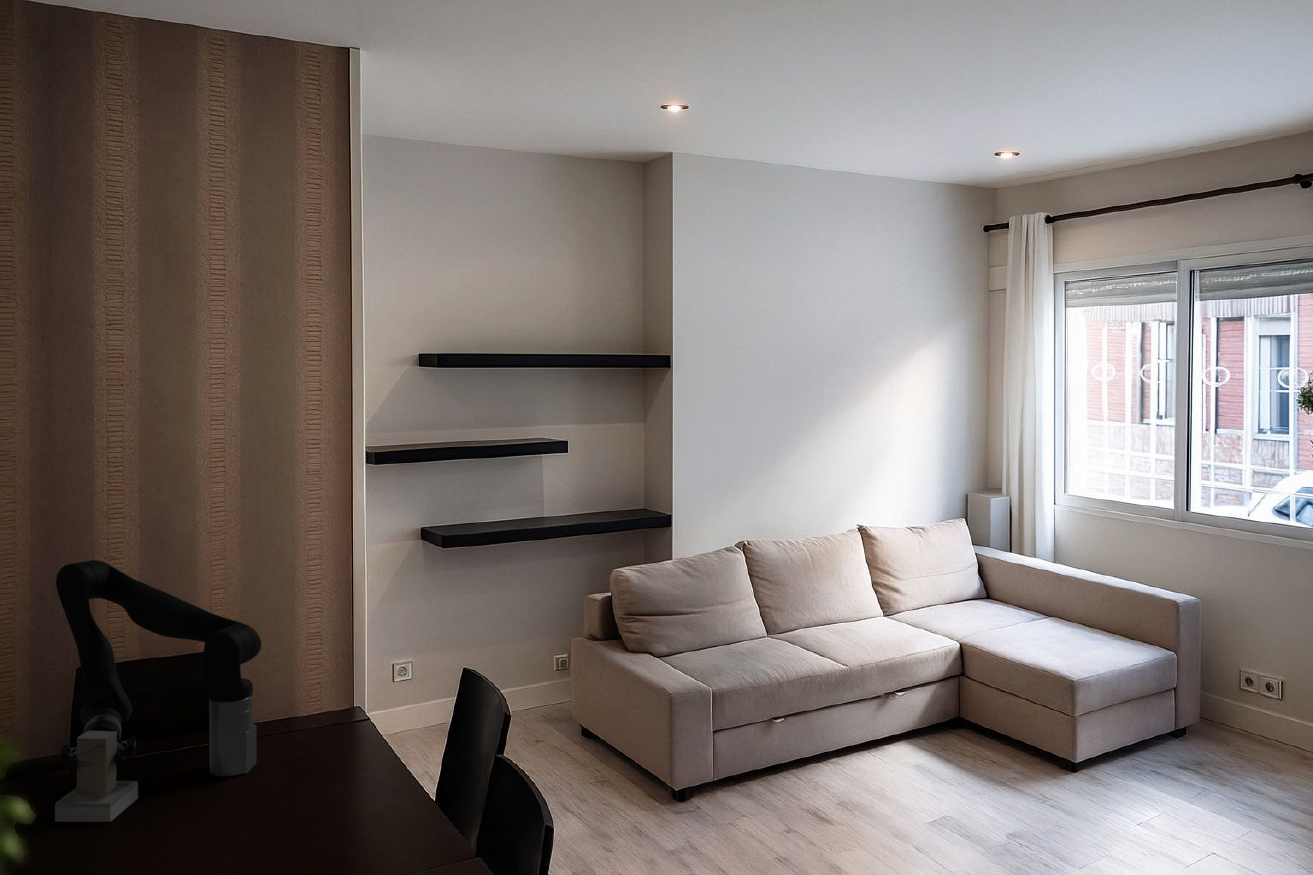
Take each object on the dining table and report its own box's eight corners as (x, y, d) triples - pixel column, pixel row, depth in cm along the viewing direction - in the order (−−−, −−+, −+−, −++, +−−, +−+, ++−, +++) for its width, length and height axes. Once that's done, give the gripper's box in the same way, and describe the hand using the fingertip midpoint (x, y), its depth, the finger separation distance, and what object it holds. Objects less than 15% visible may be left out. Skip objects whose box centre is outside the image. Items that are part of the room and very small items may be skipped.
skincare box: (75, 795, 195) (74, 738, 194) (88, 785, 199) (87, 729, 199) (106, 795, 195) (105, 738, 194) (118, 786, 200) (117, 730, 199)
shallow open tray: (138, 797, 203) (137, 780, 203) (110, 821, 192) (110, 803, 192) (85, 797, 203) (85, 780, 202) (55, 821, 192) (54, 803, 192)
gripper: (63, 724, 206) (54, 752, 191) (138, 714, 213) (135, 741, 198) (63, 757, 207) (55, 788, 192) (138, 747, 213) (136, 776, 198)
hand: (96, 764), depth 195 cm, fingers closed on skincare box, 7 cm apart
